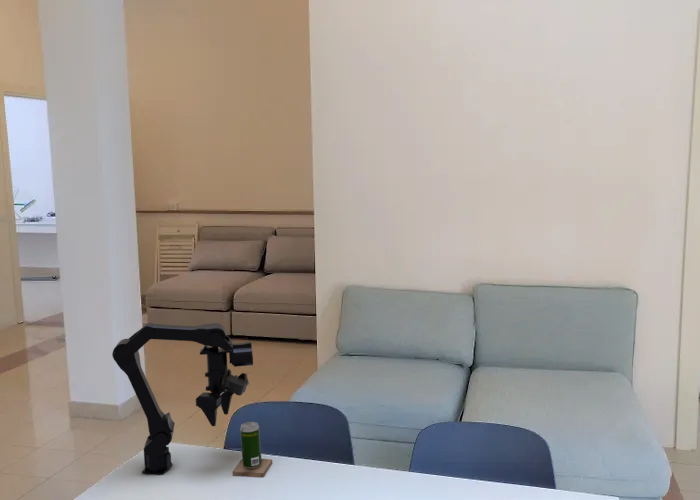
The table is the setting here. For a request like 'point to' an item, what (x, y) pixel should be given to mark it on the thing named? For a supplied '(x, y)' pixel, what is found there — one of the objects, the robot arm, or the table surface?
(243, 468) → the brown square coaster
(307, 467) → the table surface
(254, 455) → the beer can
